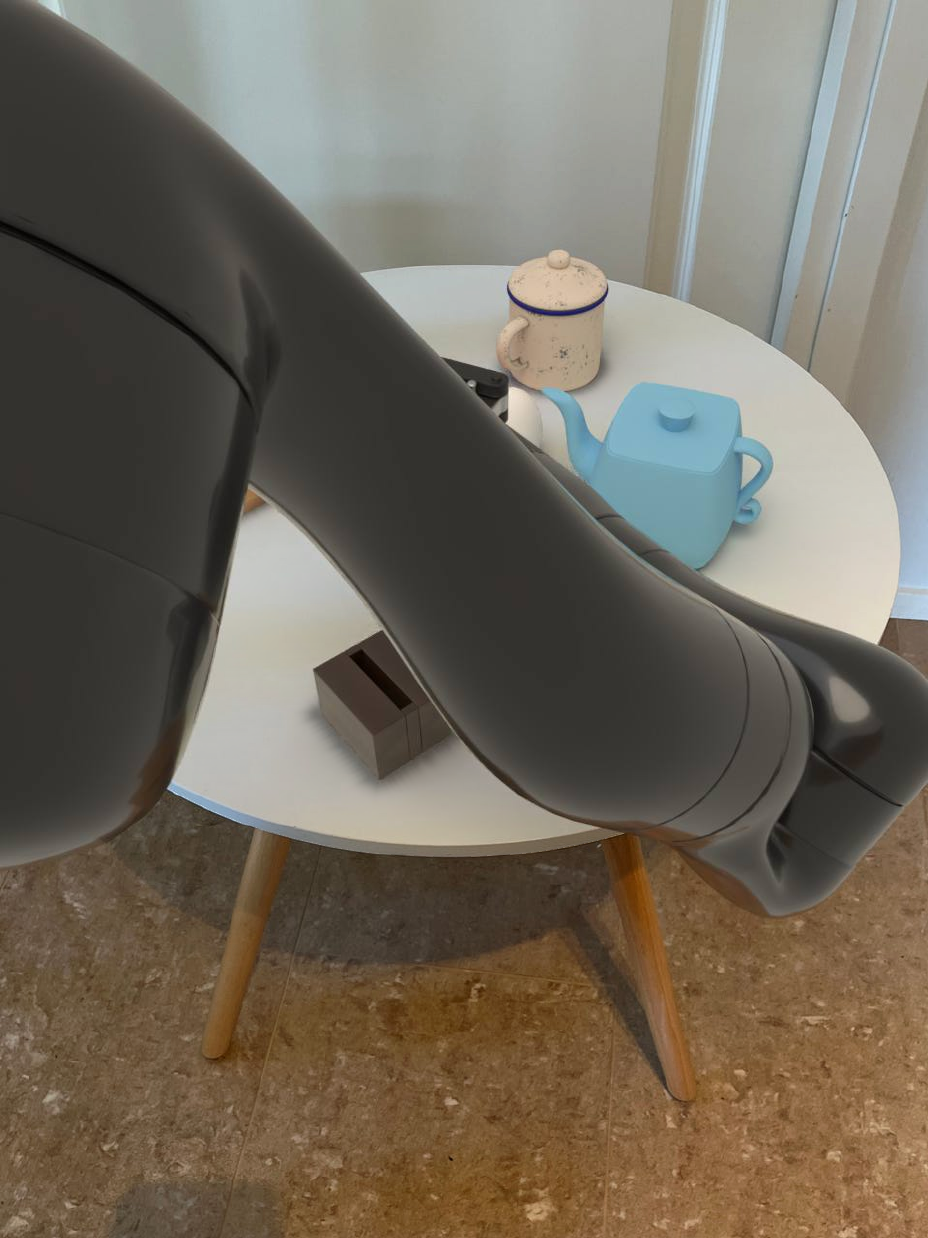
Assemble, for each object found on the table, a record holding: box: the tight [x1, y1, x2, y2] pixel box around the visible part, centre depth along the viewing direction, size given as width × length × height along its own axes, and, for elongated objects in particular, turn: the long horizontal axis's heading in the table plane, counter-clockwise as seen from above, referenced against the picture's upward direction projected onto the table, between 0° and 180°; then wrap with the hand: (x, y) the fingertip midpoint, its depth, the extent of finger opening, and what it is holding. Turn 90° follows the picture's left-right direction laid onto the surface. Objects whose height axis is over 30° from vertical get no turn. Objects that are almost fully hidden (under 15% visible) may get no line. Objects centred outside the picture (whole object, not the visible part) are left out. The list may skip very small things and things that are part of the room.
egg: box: [505, 386, 544, 448], centre depth 89 cm, size 5×5×7 cm
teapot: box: [541, 381, 774, 570], centre depth 82 cm, size 12×18×12 cm
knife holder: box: [312, 629, 453, 781], centre depth 70 cm, size 6×7×5 cm
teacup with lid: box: [495, 249, 609, 392], centre depth 96 cm, size 12×9×12 cm
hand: (300, 361), depth 56 cm, fingers closed on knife, 2 cm apart
